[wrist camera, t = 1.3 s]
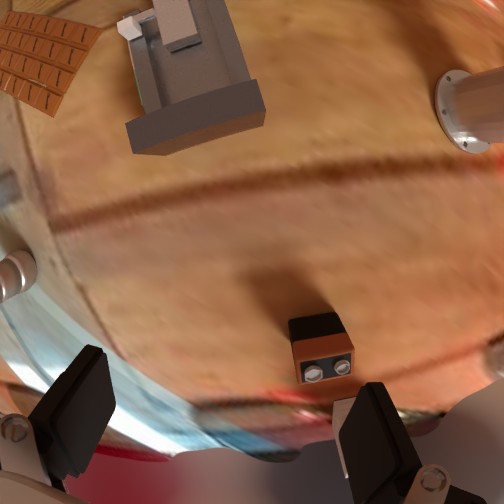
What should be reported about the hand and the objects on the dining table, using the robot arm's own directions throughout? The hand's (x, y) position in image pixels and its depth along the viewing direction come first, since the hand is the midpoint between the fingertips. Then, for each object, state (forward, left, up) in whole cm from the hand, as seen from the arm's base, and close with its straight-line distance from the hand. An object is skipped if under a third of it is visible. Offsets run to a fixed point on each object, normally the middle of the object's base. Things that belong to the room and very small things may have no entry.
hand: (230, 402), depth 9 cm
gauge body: (+1, -22, -27) cm, 35 cm away
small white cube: (+6, -28, -23) cm, 37 cm away
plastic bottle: (+36, -5, -27) cm, 46 cm away
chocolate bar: (+27, -40, -28) cm, 56 cm away
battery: (-5, +15, -28) cm, 32 cm away
